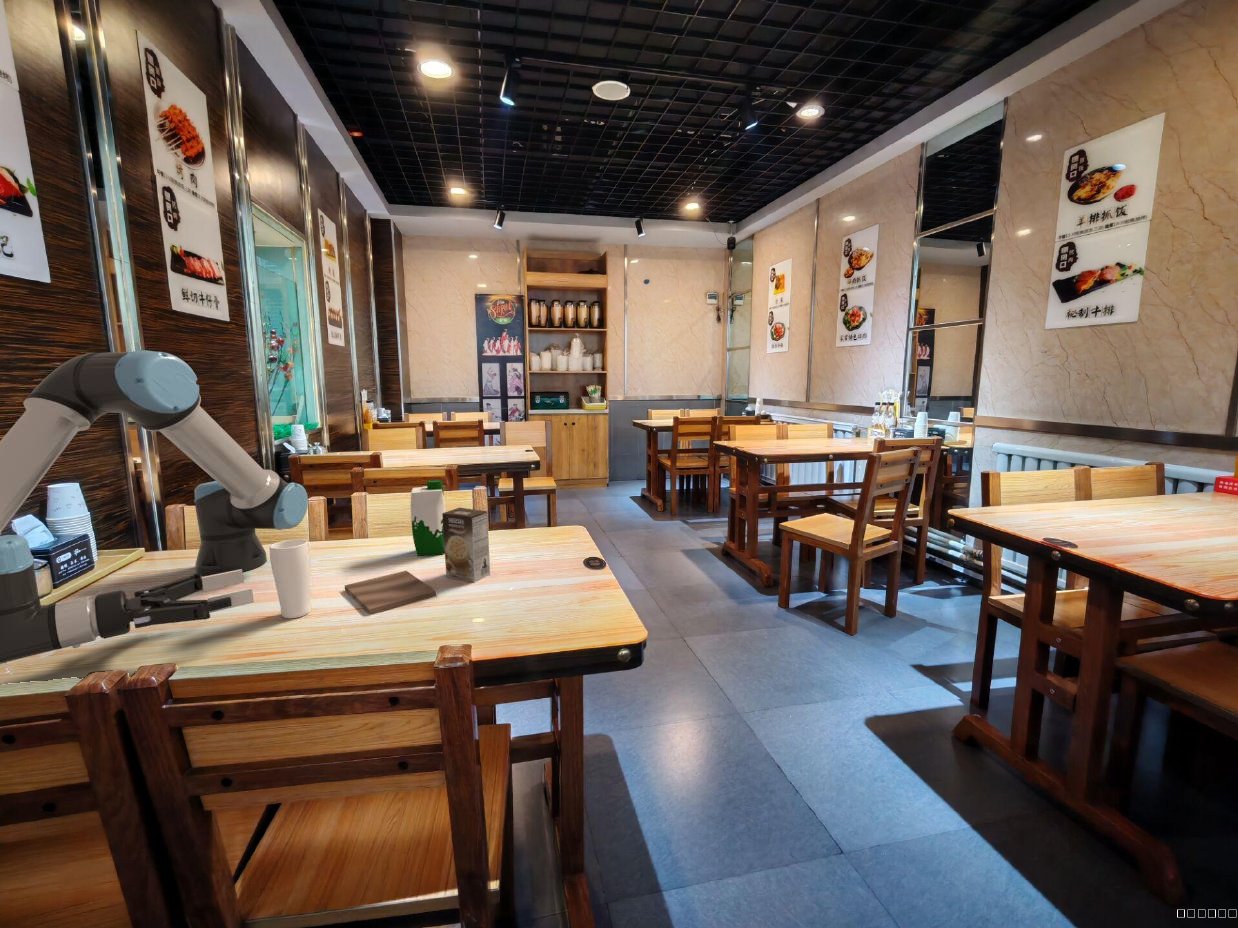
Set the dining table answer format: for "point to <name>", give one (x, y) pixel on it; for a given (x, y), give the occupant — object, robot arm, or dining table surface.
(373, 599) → the serving board
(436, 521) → the milk carton
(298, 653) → the dining table surface
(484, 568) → the coffee box
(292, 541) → the drinking glass
